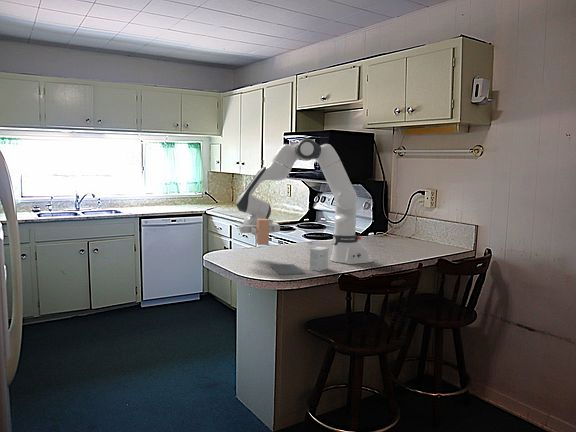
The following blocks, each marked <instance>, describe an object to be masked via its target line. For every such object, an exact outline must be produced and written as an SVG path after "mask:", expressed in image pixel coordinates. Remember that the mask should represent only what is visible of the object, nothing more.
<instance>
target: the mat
mask: <svg viewBox="0 0 576 432" xmlns="http://www.w3.org/2000/svg"><path fill="white" fill-rule="evenodd" d="M269 266H270V268H271V269H273V270H274V271H275V272H276V273H277V274H279V275H280V276H286V275H287V276H288V275H291V276H292V275H305V274H306V273H305V272H304V271H303V270H302V269H300V268H299V267H298V266H296V264H294V263H289V264H288V263H287V264H285V263H284V264H282V263H281V264H270V265H269Z"/></svg>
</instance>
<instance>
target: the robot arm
mask: <svg viewBox="0 0 576 432" xmlns="http://www.w3.org/2000/svg"><path fill="white" fill-rule="evenodd" d="M311 160H315V161H316V162H317V163H318V165H319V167H320V169H321V172H322V173H323V174H322V175H324V178H325V181H326V182H327V185H328V186H329V189H330V191H331V195H332V196H333V198H334V200H335V201H334V202H335V203H334V206H335V207H334V208H335V209H334V210H335V211H334V231H333V232H334V233H333V234H332V235H333V236H332V244H333V246H332V252H331V255H330V259H329V260H330V261H331V262H335V263H340V264H347V265H355V264H356V265H357V264H366V263H368V264H369V263H372V262H373V259H372V257H369V251H368V249H367V248H366V247H365V246H364V245H363V244H362V243H360V242H359V241H361V240H362V238H363V237H362V236H361V235H357V234H356V225H357V224H356V223H357V222H356V221H357V216H356V215H357V203H358V194H357V192H356V190H355V188H354V187H353V184H352V182H351V181H350V178H349V176H348V173H347V171H346V169H345V167H344V165H343V162H342V161H341V158H340V156H339V155H338V153H337V151H336V150H335V148H334V147H333V146H332V145H331V144H329V143H323V144H321V145H320V144H318V143H317V142H316V141H314V140H313V139H310V138H303V139H301V140H299V142H298V143H296V145H292V144H288V143H283V144H281V146H280V147H279V148H278V149H277V151H276V153H275V155H273V158H272V160H271V162H270V163H269V164H267V166H262V167H261V168H260V169H259V170H258V171H257V173H256V174H255V176H254V177H253V178H252V179H251V181H250V182H249V184H248V185H247V186H246V188H245V189H244V190H243V191H242V193H241V194H240V195H239V196H238V197H237V199H236V201H235V202H236V203H235V206H236V207H237V210H238V211H239V212H242V213H244V214H248V215H247V216H245V217H244V219H243V223H241V224H239V226H237V227H236V228H237V229H238V230H239V233H241V234H252V235H253V236H256V233H258V229H256V226H257V219H268V220H269V234H272V233H280V230H281V226H280V224H279V223H277V222H275V221H274V220H273V219H270V216H271V213H272V206H271V204H270V203H269V202H267V201H265V200H263V199H260V198H259V197H256V196H254V195H253V194H254V193H255V191H256V190H257V188H258V187H259V185H261V183H262V182H265V181H277V182H278V181H283V180H285V179H287V177H288V176H289V174H290V172H291V171H292V168H293V166H294V165H295V163H296V162H297V161H303V162H304V161H305V162H307V161H311Z"/></svg>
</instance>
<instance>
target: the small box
mask: <svg viewBox="0 0 576 432" xmlns="http://www.w3.org/2000/svg"><path fill="white" fill-rule="evenodd" d="M309 250H310V252H309V253H310V254H309V270H311V271H316V272H320V271H324V270H327V269H328V268H329V247H325V246H317V247H312V248H310V249H309Z"/></svg>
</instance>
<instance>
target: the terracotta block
mask: <svg viewBox="0 0 576 432" xmlns="http://www.w3.org/2000/svg"><path fill="white" fill-rule="evenodd" d="M269 220H270V219H269V218H268V219H257V226H256V229H258V233H256V235H255V238H256V240H255V243H256V244H257V245H258V246H259V245H260V246H262V245H263V246H264V245H265V246H266V245H269V243H270V233H269Z"/></svg>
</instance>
